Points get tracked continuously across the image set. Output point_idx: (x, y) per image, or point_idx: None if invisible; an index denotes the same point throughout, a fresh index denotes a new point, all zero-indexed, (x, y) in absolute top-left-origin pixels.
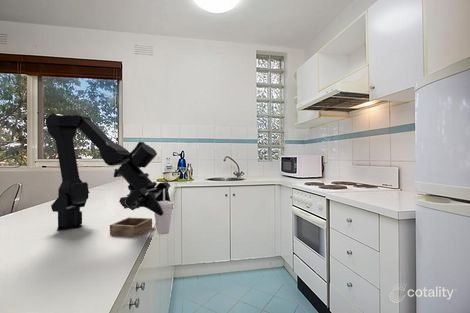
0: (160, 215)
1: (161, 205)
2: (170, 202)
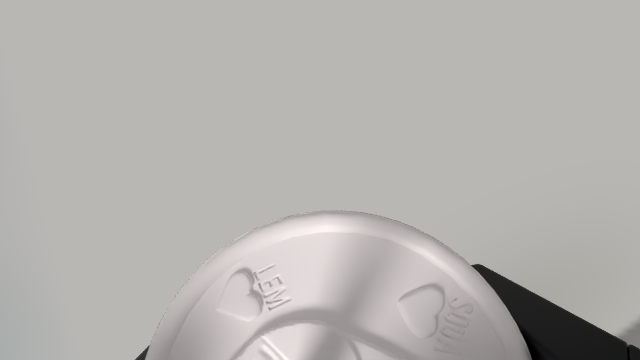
0: None
1: (496, 310)
2: (252, 285)
